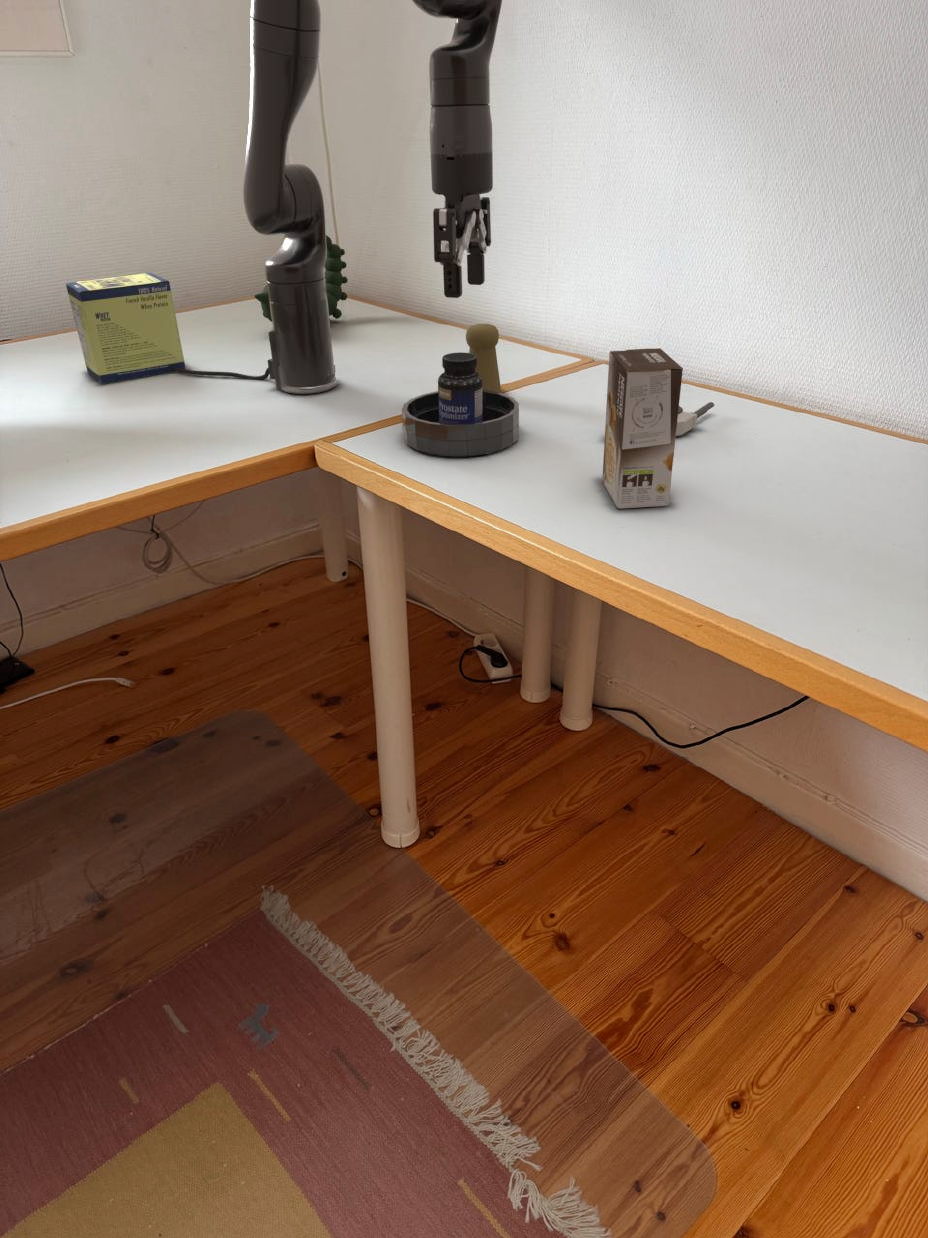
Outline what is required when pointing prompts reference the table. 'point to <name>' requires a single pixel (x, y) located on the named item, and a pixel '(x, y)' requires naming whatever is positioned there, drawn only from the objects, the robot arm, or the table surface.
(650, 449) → the coffee box
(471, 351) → the olive brown knobbed cylinder
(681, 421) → the walkie-talkie
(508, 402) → the pan
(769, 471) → the table surface
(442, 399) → the pill bottle
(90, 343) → the protein box
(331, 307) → the toy figurine
